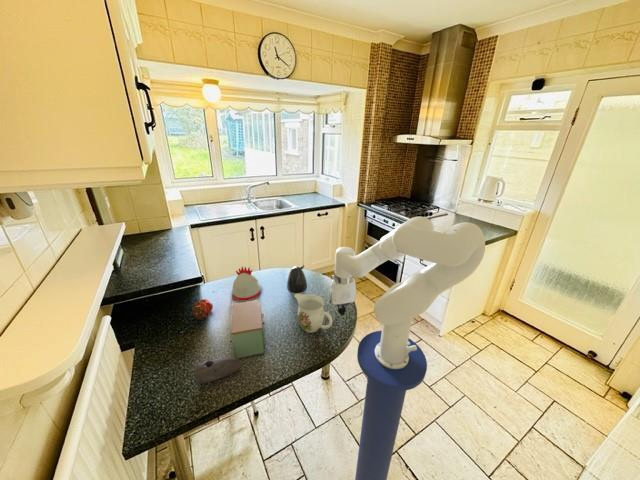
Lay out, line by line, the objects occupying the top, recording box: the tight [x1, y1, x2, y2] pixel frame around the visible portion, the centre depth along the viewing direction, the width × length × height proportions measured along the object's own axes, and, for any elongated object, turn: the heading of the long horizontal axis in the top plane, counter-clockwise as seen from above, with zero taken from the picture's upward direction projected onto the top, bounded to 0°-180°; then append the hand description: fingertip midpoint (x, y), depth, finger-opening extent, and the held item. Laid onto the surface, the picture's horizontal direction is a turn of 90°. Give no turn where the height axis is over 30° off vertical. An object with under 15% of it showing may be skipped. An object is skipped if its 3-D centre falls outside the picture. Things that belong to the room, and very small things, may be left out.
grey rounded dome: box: [231, 266, 262, 302], centre depth 128 cm, size 14×14×15 cm
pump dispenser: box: [286, 264, 308, 297], centre depth 128 cm, size 10×10×15 cm
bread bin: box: [230, 299, 266, 359], centre depth 100 cm, size 12×17×13 cm
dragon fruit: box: [191, 298, 214, 321], centre depth 114 cm, size 8×8×12 cm
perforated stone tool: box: [192, 357, 243, 385], centre depth 86 cm, size 15×5×7 cm, turn 110°
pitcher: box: [293, 293, 333, 334], centre depth 106 cm, size 11×18×14 cm, turn 58°
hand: (341, 313), depth 110 cm, fingers closed
